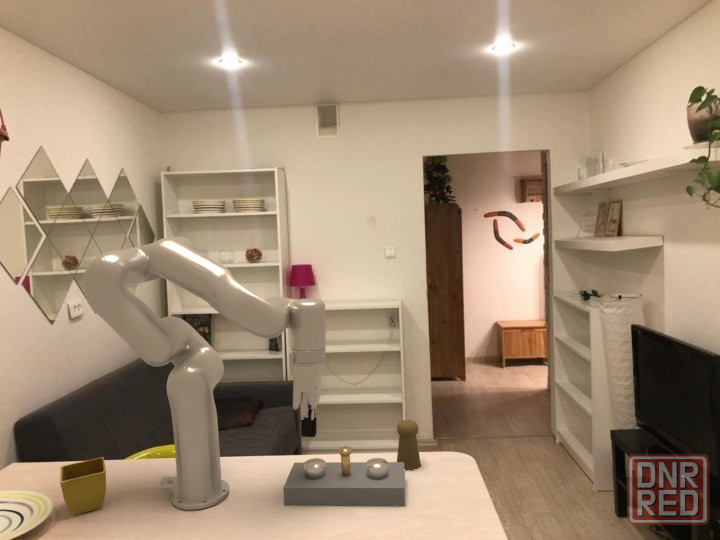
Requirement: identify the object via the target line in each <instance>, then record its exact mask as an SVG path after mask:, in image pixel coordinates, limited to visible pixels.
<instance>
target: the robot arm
mask: <svg viewBox="0 0 720 540" xmlns="http://www.w3.org/2000/svg"><path fill="white" fill-rule="evenodd" d="M160 279H164V280H167V281H168V282H170V283H173V284H174V285H175V286H177V287H179V288H182V289H183V290H184V291H187V292H188V293H190V294H192V295H194V296H196V297H198V298H199V299H202V300H203V301H204V302H206V303H207V304H208V305H209V306H210V307H211V308H212V309H214V310H215V311H216V312H217V313H218V314H220V315H221V316H222V317H223V318H225V319H226V320H228V321H229V322H231V323H232V324H234V325H235V326H237V327H239V328H241V329H243V330H245V331H247V332H248V333H250V334H252V335H254V336H255V337H256V336H257V337H259V338H263V339H275V338H277V337H279V336H280V335H281V334H283V332H284V331H285V330H287V329H289V330H290V341H291V342H290V345H291V346H290V347H291V349H290V354H291V355H290V356H291V357H290V358H291V361H290V362H291V364H293V365H294V370H293V371H294V372H293V382H292V383H293V385H292V386H293V387H292V388H293V389H292V391H293V392H292V409H293V410H294V411H296V410H298V409H299V407H300V418H301V419H300V435H301V437H303V438H315V437H316V436H317V433H318V430H317V426H318V425H317V424H318V423H317V406H318V403H319V401H320V398H321V393H322V365H323V364H325V363H326V361H327V360H326V359H327V358H326V357H327V355H326V354H327V353H326V304H325V302H324V301H323V300H322V299H319V298H311V297H310V298H298V299H296V298H290V297H284V296H283V297H282V296H271V297H268V298H266V299H264V298H262V297H260V296H258V295H256V294H255V293H253V292H251V291H249V290H248V289H246V288H245V287H244V286H242V285H241V284H240V283H238V281H237V280H236V279H235V278H234V276H233V274H232V272H231V271H230V269H229V268H227V267H226V266H225V265H223V264H221V263H219V262H217V261H216V260H214V259H212V258H210V257H208V256H206V255H205V254H203V253H201V252H199V251H198V248H197V246H196V244H194V243H193V241H191V240H190V239H188V238H186V237H184V236H183V237H182V236H170V237H163V238H160V239H159V240H156V241H155V242H153V243H147V244H144V245H139V246H135V247H134V246H133V247H130V248H129V247H128V248H124V249H117V250H110V251H106V252H103V253H101V254H98V255H97V256H95V257H94V258H93V259H91V261H90V262H89V263H88V265H87V266H86V269H85V271H84V273H83V277H82V288H83V295H84V297H85V299H86V301H87V303H88V305H89V306H90V308H91V309H92V311H94V312H95V314H97V316H99V317H100V318H101V319H102V320H103V321H104V322H105V323H106V324H107V325H108V326H109V327H110V328H111V329H112V330H113V331H114V332H115V333H116V335H118V336H119V337H120V339H122V340H123V341H124V342H125V343H126V344H127V345H128V346H129V347H130V349H132V351H133V352H134V353H136V355H137V356H138V357H139V358H140V359H141V360H142V361H144V362H145V364H147V365H149V366H152V367H155V368H156V367H163V366H166V365H167V364H170V362H171V363H172V364H173V365H174V367H173V368H172V369H171V371H170V373H169V374H168V377H167V382H166V393H167V395H166V396H167V399H168V402H169V406H170V413H171V421H172V430H173V444H174V455H175V456H174V457H175V469H176V475H175V476H170V475H167V476H166V475H165V476H162V477H161V480H160V485H161V490H163V491H164V490H165V491H166V490H171V491H172V493H171V496H170V497H171V498H170V500H171V503H172V505H173V506H175V507H176V508H178V509H181V510H185V511H189V510H190V511H191V510H192V511H194V510H202V509H206V508H210V507H213V506H215V505H218V504H219V503H221V502H222V501H224V500H225V499H226V498H227V497H228V495H229V494H230V485H229V483H228V481H226V480H224V479H222V468H221V467H222V465H221V453H220V452H221V451H220V440H219V439H220V437H219V435H220V434H219V425H218V423H219V422H218V413H217V407H216V402H215V398H214V389H215V388H216V386H217V385H218V383H219V382H220V381H221V379H222V378H223V376H224V372H225V366H224V362H223V360H222V357H221V355H219V353H218V352H217V351H216V349H214V348H213V347H212V346H211V345H210V344H209V342H208V341H206V339H204V337H203V336H202V335H201V334H200V333H198V331H197V330H196V329H195V328H194V327H193V326H192V325H191V324H189V322H188V321H186V320H184V319H182V318H180V317H178V316H164V317H159V316H158V315H157V313H155V312H154V311H153V310H152V309H151V308H150V307H149V305H148V304H147V303H145V301H143V300H142V299H141V298H140V297H138V296H136V295H135V294H133V293H132V292H131V291H130V290H129V288H130V287H133V286H135V285H140V284H143V283H147V282H151V281H155V280H160Z"/></svg>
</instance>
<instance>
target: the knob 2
mask: <svg viewBox="0 0 720 540" xmlns="http://www.w3.org/2000/svg"><path fill="white" fill-rule="evenodd" d="M388 462H389V461H387V459H384V458H382V457H373V458H371V459H368V460H367V461H366V471H367V476H368V477H370V478H373V479H381V478H384V477H386V476H387V475H388Z"/></svg>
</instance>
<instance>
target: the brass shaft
mask: <svg viewBox="0 0 720 540" xmlns="http://www.w3.org/2000/svg"><path fill="white" fill-rule="evenodd" d="M338 450H339V451H338V452H339V455H340V462H341V469H342V476H344V477H348V476H350V475H351V471H350V462H351V454H352V448H351V446H345V445H344V446H341V447H340V448H339V449H338Z"/></svg>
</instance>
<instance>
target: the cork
mask: <svg viewBox="0 0 720 540" xmlns="http://www.w3.org/2000/svg"><path fill="white" fill-rule="evenodd" d="M396 431H397V432H396V433H397V434H398V435H399V437H398V446H397V457H396V462H404V469H405V471H407V470H411V471H414V470H413V469H416V470H418V469H420V468H421V467H422V463H421V459H420V458H421V457H420V456H421V455H420V452H419V445H418V444H419V443H418V439H417V435H418V433H419V426H418V423H417V422H416V421H414V420H411V419H404V420H401V421H399V422H398V424H397V426H396ZM419 467H420V468H419ZM417 468H418V469H417Z"/></svg>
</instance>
